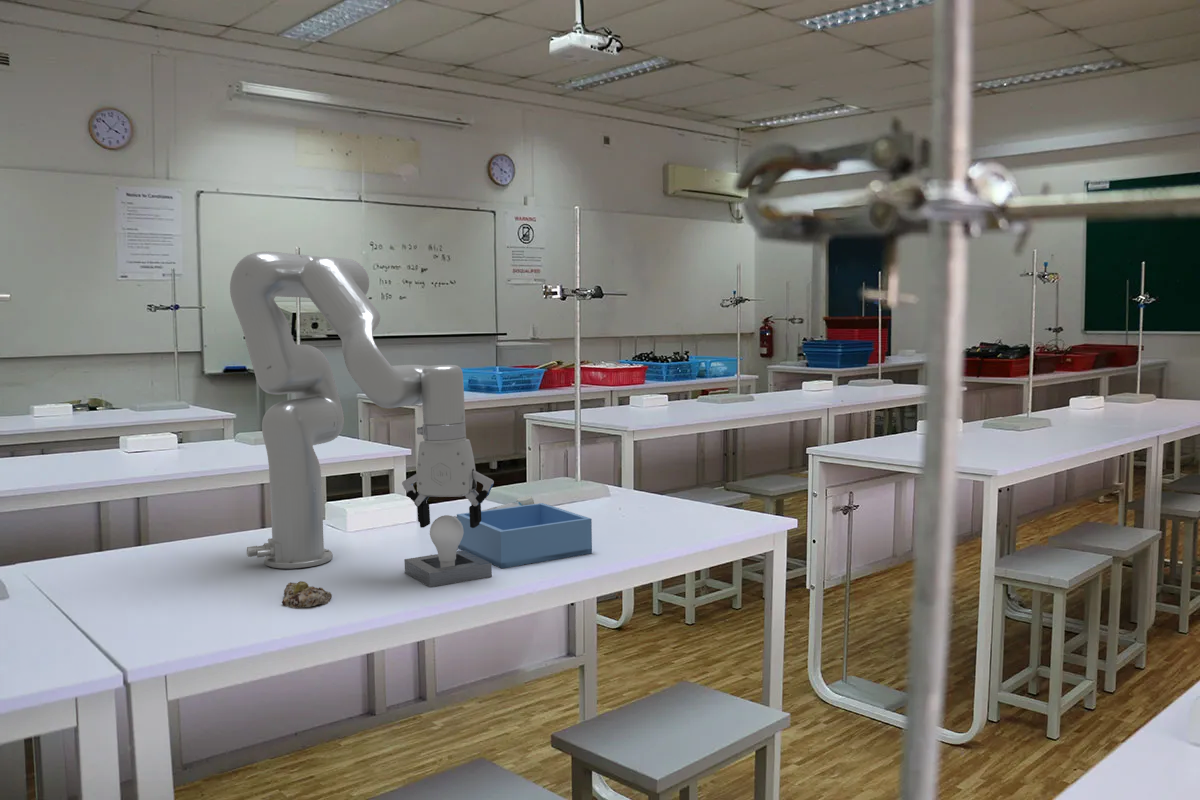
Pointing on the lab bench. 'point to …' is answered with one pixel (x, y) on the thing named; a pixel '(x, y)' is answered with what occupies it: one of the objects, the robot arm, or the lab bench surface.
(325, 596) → the mineral rock
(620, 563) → the lab bench surface
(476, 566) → the socket block
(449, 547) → the lightbulb
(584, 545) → the bin
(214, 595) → the lab bench surface
